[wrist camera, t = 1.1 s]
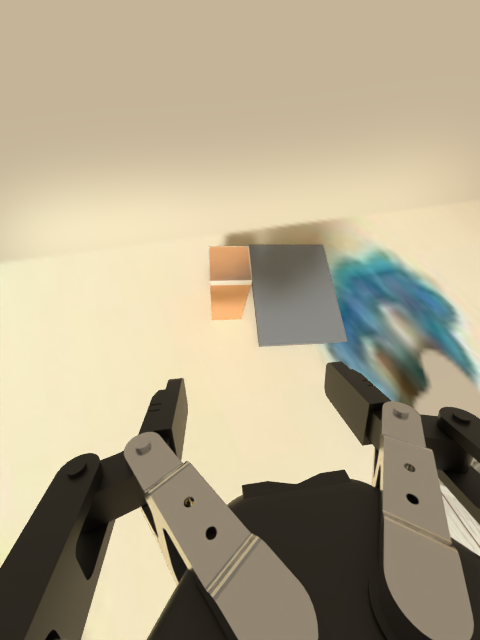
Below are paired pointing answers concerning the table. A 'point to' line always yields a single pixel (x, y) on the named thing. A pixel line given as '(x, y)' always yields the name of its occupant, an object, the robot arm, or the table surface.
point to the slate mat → (294, 296)
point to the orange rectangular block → (229, 280)
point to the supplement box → (461, 518)
